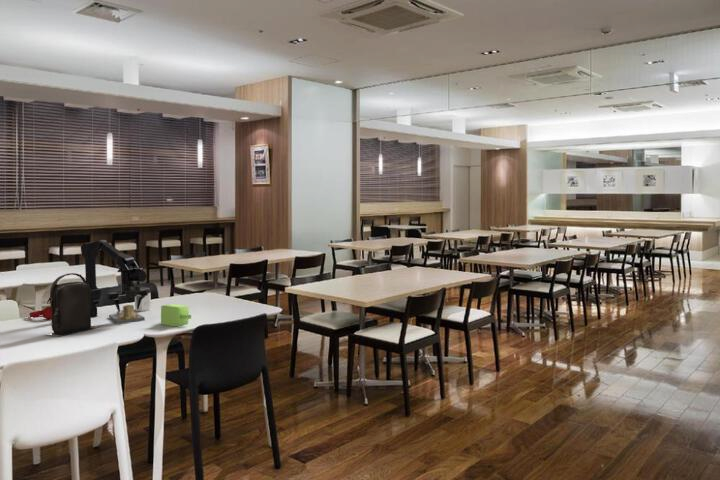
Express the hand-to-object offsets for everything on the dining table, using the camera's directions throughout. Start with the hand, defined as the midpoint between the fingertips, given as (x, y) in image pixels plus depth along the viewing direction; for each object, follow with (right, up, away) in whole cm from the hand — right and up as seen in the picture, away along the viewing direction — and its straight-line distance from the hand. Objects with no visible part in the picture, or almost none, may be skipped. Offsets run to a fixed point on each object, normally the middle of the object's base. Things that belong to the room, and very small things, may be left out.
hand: (128, 310), depth 297 cm
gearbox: (+28, -6, -8) cm, 30 cm away
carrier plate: (-2, -5, +4) cm, 6 cm away
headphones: (-47, -5, +10) cm, 48 cm away
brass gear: (0, -4, 0) cm, 4 cm away
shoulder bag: (-17, -7, -22) cm, 29 cm away
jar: (-3, -3, +27) cm, 27 cm away
